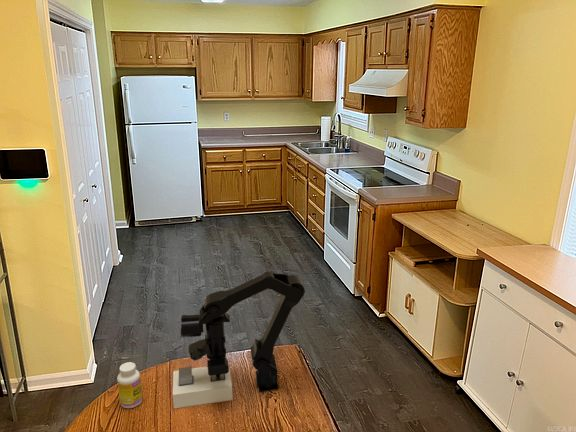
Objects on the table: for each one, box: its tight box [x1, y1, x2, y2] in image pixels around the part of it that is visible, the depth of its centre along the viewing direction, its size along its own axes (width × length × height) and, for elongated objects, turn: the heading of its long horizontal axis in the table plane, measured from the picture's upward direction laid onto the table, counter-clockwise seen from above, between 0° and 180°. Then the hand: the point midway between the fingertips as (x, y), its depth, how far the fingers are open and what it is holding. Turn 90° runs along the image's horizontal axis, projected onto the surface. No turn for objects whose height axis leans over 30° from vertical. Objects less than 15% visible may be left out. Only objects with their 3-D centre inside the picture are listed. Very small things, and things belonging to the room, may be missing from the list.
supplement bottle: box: [116, 361, 143, 409], centre depth 140 cm, size 7×7×13 cm
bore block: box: [172, 363, 234, 409], centre depth 145 cm, size 18×12×5 cm, turn 102°
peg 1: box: [178, 365, 193, 386], centre depth 143 cm, size 4×4×5 cm
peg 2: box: [211, 374, 225, 382], centre depth 146 cm, size 4×4×5 cm
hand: (217, 376), depth 146 cm, fingers closed, pressing on peg 2
